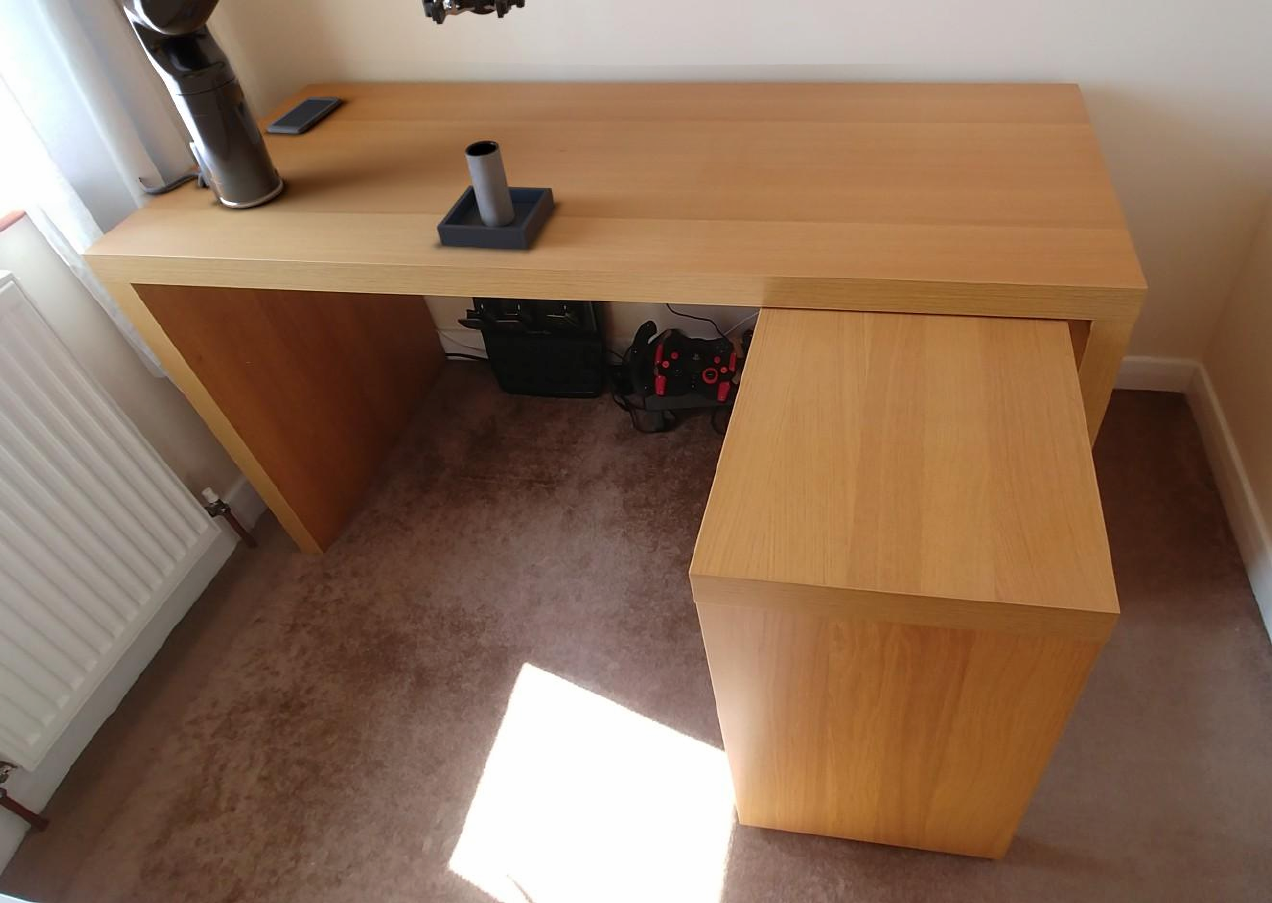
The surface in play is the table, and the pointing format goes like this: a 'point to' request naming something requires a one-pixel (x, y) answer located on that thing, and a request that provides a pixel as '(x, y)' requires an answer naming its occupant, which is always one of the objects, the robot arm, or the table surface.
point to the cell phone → (304, 115)
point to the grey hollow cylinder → (490, 183)
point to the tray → (519, 234)
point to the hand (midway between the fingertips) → (468, 13)
